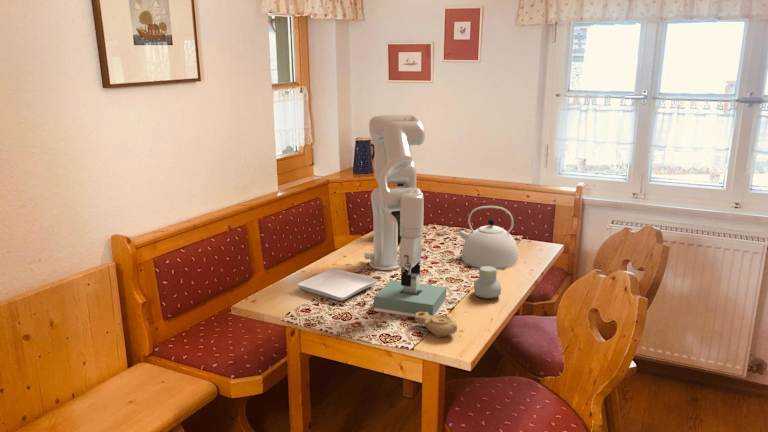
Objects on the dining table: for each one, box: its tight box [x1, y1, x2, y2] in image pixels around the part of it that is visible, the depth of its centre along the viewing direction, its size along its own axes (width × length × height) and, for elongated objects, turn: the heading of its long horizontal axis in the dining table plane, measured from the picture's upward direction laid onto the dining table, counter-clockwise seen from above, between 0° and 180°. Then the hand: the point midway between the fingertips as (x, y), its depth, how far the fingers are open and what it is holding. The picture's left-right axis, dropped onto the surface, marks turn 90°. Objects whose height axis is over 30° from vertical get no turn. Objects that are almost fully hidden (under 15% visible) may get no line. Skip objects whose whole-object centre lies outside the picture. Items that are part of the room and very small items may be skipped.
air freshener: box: [473, 266, 502, 299], centre depth 217 cm, size 11×8×10 cm
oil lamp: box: [414, 312, 458, 338], centre depth 190 cm, size 11×14×5 cm
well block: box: [373, 279, 447, 318], centre depth 209 cm, size 20×16×5 cm
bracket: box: [403, 272, 420, 296], centre depth 208 cm, size 4×3×10 cm, turn 69°
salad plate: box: [296, 268, 378, 302], centre depth 223 cm, size 21×21×3 cm
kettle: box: [456, 205, 519, 269], centre depth 253 cm, size 25×23×23 cm
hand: (410, 280), depth 207 cm, fingers open, 9 cm apart
